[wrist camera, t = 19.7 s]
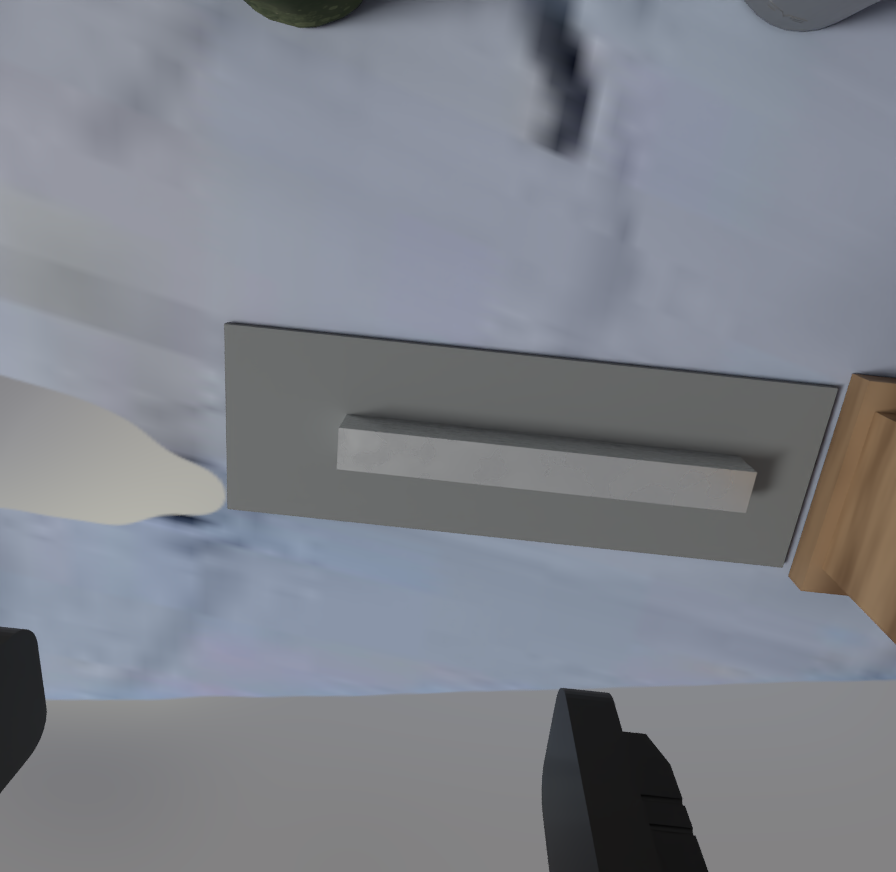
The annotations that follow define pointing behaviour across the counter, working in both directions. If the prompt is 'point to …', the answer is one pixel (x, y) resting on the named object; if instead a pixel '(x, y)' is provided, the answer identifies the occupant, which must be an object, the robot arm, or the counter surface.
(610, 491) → the steel bar
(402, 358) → the rubber mat
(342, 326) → the counter surface
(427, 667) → the counter surface
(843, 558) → the brown tall ridged block
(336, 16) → the green bottle
